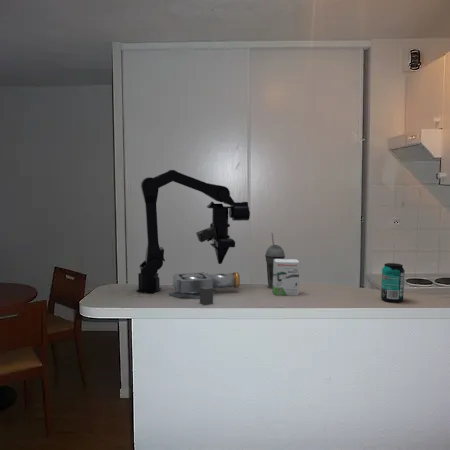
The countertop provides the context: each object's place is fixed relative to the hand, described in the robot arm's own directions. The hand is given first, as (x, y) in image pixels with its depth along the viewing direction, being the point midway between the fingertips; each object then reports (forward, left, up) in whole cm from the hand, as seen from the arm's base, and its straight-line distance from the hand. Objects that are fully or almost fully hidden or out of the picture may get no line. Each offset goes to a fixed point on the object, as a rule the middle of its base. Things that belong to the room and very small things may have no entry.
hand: (219, 263), depth 181 cm
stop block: (+4, -22, -9) cm, 24 cm away
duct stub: (-6, -12, -9) cm, 16 cm away
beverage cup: (+18, +8, -9) cm, 22 cm away
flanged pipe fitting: (-1, -9, -7) cm, 12 cm away
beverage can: (+59, +4, -9) cm, 60 cm away
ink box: (+24, 0, -9) cm, 26 cm away
